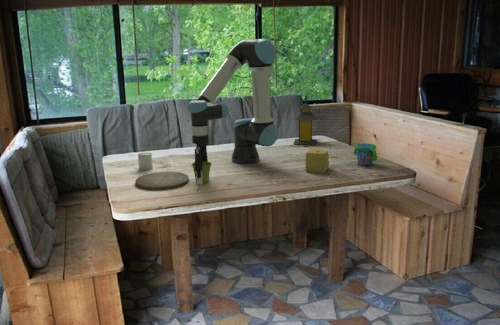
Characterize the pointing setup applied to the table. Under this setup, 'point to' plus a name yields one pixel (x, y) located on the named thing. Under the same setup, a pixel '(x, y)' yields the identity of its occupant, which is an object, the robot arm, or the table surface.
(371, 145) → the snack cup
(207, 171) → the plant pot
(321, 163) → the cheese
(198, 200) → the table surface
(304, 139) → the lantern
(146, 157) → the grey small cylinder
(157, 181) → the trivet
